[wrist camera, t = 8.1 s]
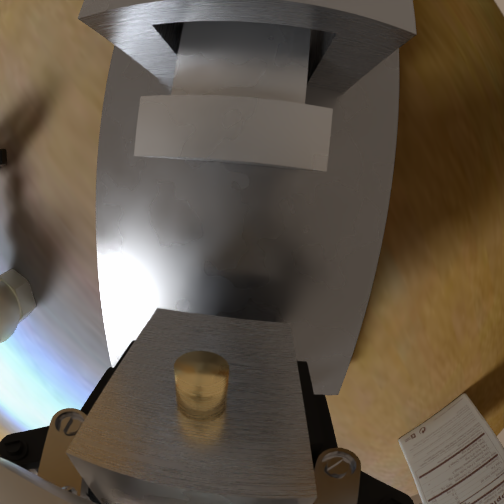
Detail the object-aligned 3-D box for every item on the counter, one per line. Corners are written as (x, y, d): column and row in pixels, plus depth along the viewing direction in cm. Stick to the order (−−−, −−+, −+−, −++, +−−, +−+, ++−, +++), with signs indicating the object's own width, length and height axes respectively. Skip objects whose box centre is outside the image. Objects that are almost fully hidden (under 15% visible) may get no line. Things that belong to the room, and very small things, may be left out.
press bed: (141, 13, 11) (65, -66, 3) (382, 33, 11) (465, -44, 3) (124, 349, 16) (62, 446, 8) (331, 373, 16) (363, 487, 8)
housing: (156, 278, 10) (45, 416, 3) (295, 294, 10) (336, 468, 3) (164, 399, 12) (119, 525, 5) (271, 413, 12) (274, 549, 5)
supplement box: (475, 419, 19) (523, 502, 7) (416, 460, 20) (450, 550, 8) (466, 388, 17) (532, 490, 5) (395, 438, 19) (436, 553, 7)
